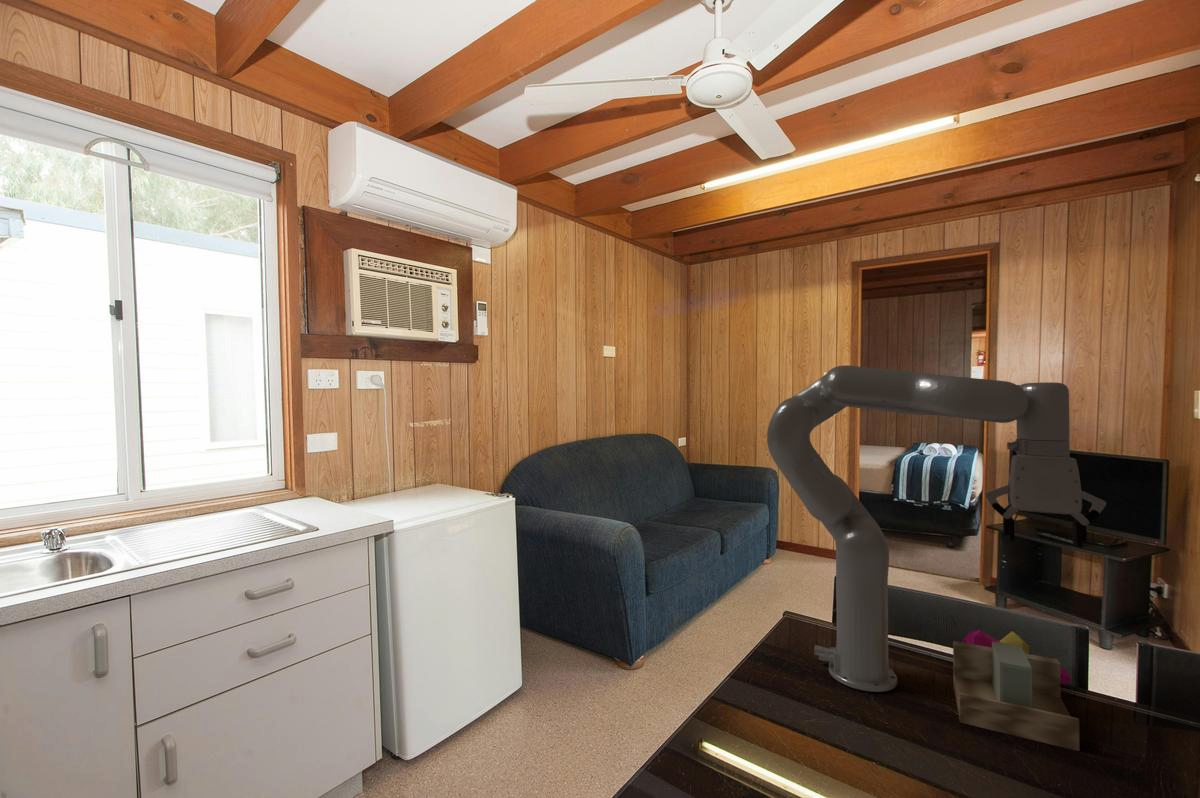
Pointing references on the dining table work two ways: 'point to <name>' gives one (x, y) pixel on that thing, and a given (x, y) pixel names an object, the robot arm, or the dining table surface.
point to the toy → (1011, 639)
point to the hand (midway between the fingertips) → (1043, 542)
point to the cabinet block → (1011, 674)
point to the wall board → (985, 711)
